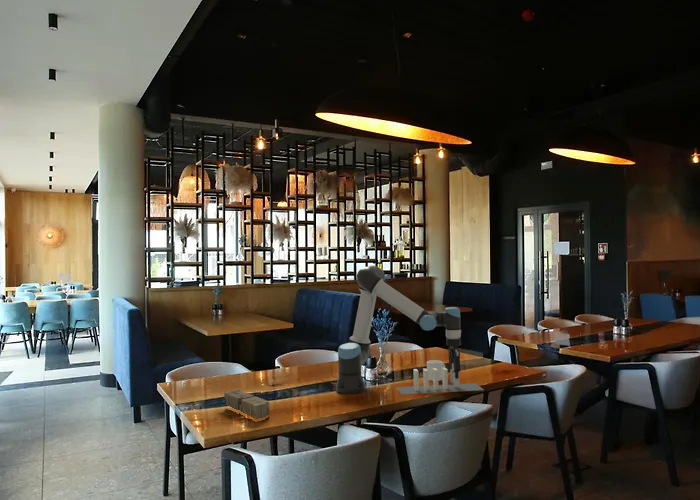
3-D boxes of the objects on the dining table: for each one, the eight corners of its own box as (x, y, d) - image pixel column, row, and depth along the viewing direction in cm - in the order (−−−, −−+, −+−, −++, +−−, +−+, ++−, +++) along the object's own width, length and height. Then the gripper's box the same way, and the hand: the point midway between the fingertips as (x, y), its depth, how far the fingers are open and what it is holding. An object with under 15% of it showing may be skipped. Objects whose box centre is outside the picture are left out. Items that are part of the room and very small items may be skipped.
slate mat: (401, 395, 264) (401, 394, 264) (396, 388, 278) (396, 387, 278) (484, 391, 268) (484, 390, 268) (475, 384, 282) (475, 383, 282)
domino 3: (435, 390, 270) (434, 370, 270) (433, 387, 275) (432, 368, 275) (438, 389, 270) (437, 370, 270) (436, 387, 275) (435, 368, 275)
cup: (424, 380, 294) (423, 361, 294) (439, 376, 301) (439, 358, 301) (434, 382, 287) (434, 364, 287) (450, 379, 294) (450, 360, 294)
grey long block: (271, 421, 233) (239, 405, 256) (271, 402, 233) (239, 387, 256) (255, 425, 228) (224, 408, 251) (255, 405, 228) (223, 391, 251)
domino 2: (425, 390, 270) (425, 370, 270) (423, 388, 275) (422, 368, 275) (428, 390, 270) (428, 370, 270) (426, 387, 275) (425, 368, 275)
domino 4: (445, 389, 271) (444, 369, 271) (442, 387, 276) (442, 367, 276) (448, 389, 271) (447, 369, 271) (445, 386, 276) (445, 367, 276)
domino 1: (415, 391, 269) (415, 371, 269) (413, 388, 274) (413, 369, 274) (418, 390, 270) (418, 371, 270) (416, 388, 275) (416, 368, 275)
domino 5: (455, 382, 276) (454, 363, 276) (458, 384, 271) (457, 365, 271) (452, 382, 276) (451, 363, 276) (455, 385, 271) (454, 365, 271)
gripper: (465, 340, 265) (467, 387, 265) (455, 334, 283) (457, 378, 283) (451, 340, 264) (452, 388, 264) (441, 335, 282) (443, 379, 282)
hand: (455, 383), depth 274 cm, fingers closed on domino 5, 5 cm apart
